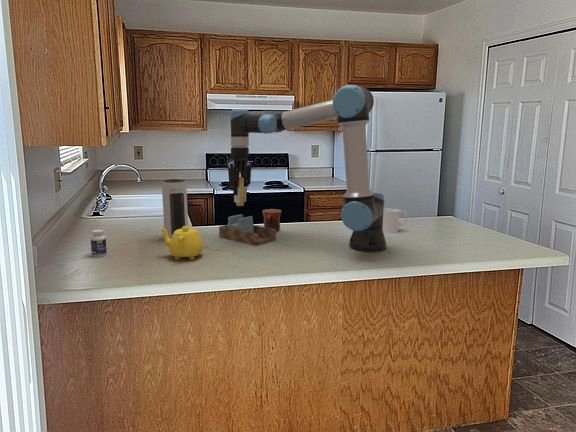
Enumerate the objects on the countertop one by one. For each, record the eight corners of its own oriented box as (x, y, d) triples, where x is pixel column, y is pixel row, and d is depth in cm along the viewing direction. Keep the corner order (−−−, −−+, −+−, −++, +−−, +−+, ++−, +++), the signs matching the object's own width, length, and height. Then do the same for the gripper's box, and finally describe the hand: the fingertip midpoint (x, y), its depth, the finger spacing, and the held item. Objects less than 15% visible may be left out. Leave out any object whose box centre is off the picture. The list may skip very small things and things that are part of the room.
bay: (275, 243, 207) (276, 229, 206) (257, 248, 198) (257, 234, 197) (238, 234, 221) (238, 222, 219) (219, 239, 211) (219, 226, 210)
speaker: (163, 242, 207) (160, 181, 201) (164, 236, 217) (161, 178, 211) (188, 241, 209) (186, 180, 203) (188, 235, 219) (186, 177, 213)
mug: (265, 229, 231) (265, 208, 229) (283, 230, 229) (283, 209, 227) (258, 235, 219) (258, 213, 217) (277, 237, 218) (277, 214, 216)
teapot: (190, 249, 196) (189, 220, 194) (211, 257, 186) (210, 226, 184) (159, 256, 187) (158, 226, 184) (180, 264, 177) (179, 232, 174)
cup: (407, 233, 227) (408, 212, 225) (381, 232, 229) (382, 211, 227) (405, 229, 235) (406, 208, 233) (380, 228, 237) (381, 208, 235)
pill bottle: (97, 258, 183) (96, 232, 181) (88, 255, 186) (86, 231, 184) (109, 254, 188) (108, 230, 186) (100, 252, 190) (99, 228, 188)
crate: (253, 236, 212) (253, 216, 210) (240, 240, 206) (240, 219, 204) (240, 233, 217) (240, 214, 215) (227, 237, 211) (227, 217, 209)
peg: (245, 205, 209) (245, 177, 206) (240, 206, 206) (240, 178, 204) (240, 204, 211) (239, 176, 208) (234, 205, 208) (234, 177, 206)
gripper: (246, 145, 212) (246, 198, 217) (219, 147, 200) (220, 203, 204) (259, 146, 207) (259, 200, 212) (232, 148, 195) (232, 205, 200)
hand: (240, 201), depth 208 cm, fingers closed on peg, 3 cm apart
